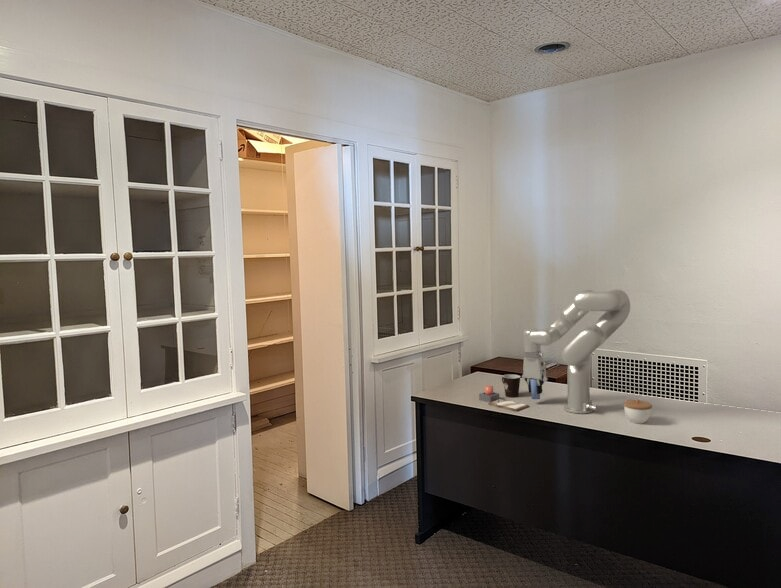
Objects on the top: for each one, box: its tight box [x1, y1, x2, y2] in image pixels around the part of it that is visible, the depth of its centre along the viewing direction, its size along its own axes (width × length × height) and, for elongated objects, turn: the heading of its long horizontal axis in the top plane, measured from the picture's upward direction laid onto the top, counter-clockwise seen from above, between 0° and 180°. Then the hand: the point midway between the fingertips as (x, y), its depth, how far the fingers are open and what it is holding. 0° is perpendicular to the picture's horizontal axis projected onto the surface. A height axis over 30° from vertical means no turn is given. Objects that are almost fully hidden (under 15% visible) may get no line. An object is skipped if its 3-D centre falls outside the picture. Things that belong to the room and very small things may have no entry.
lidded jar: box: [623, 398, 653, 425], centre depth 227 cm, size 11×11×9 cm
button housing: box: [478, 391, 500, 403], centre depth 267 cm, size 7×7×3 cm
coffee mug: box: [501, 373, 521, 398], centre depth 273 cm, size 12×9×10 cm
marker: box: [530, 378, 541, 400], centre depth 257 cm, size 4×4×12 cm
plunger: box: [484, 385, 494, 395], centre depth 266 cm, size 4×4×5 cm
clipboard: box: [487, 398, 530, 412], centre depth 256 cm, size 16×10×1 cm, turn 41°
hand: (535, 392), depth 257 cm, fingers closed on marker, 4 cm apart
